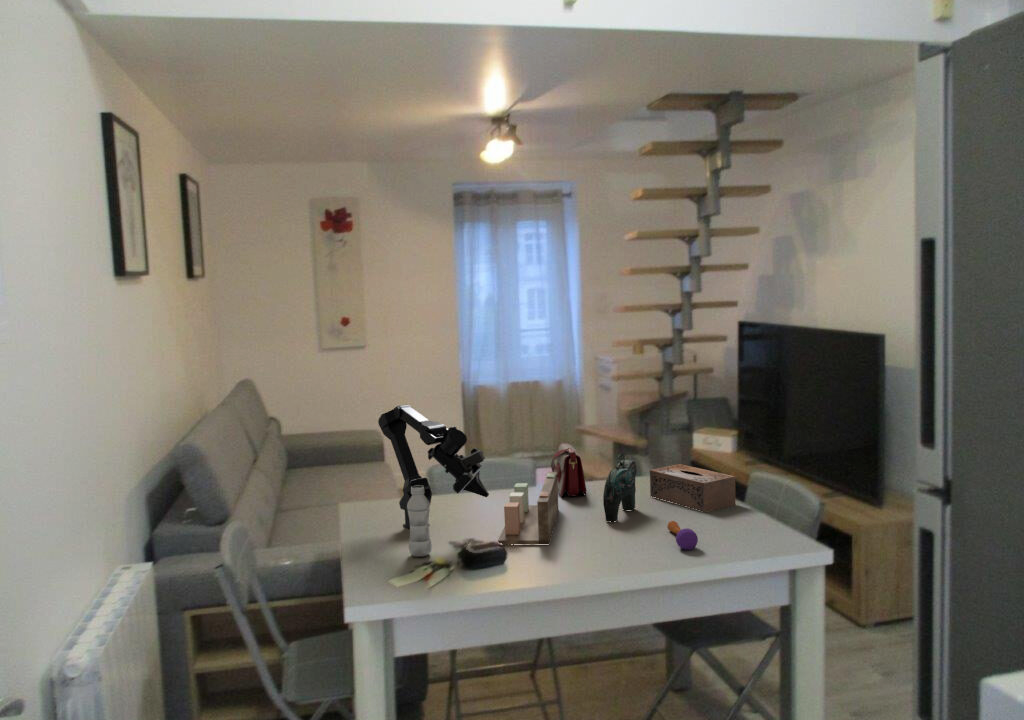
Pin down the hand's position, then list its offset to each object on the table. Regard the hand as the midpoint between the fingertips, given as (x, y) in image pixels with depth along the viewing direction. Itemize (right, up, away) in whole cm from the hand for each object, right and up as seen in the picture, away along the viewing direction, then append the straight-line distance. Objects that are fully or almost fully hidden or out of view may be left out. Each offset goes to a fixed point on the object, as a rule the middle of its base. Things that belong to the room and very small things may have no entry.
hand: (487, 495), depth 241 cm
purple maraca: (+56, -12, -9) cm, 58 cm away
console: (+13, -12, +12) cm, 21 cm away
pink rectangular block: (+7, -11, 0) cm, 13 cm away
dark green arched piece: (+43, -10, +20) cm, 48 cm away
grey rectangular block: (+9, -10, +12) cm, 18 cm away
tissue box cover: (+69, -8, +33) cm, 77 cm away
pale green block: (+11, -9, +24) cm, 27 cm away
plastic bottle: (-19, -15, -13) cm, 27 cm away
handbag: (+28, -7, +56) cm, 63 cm away
